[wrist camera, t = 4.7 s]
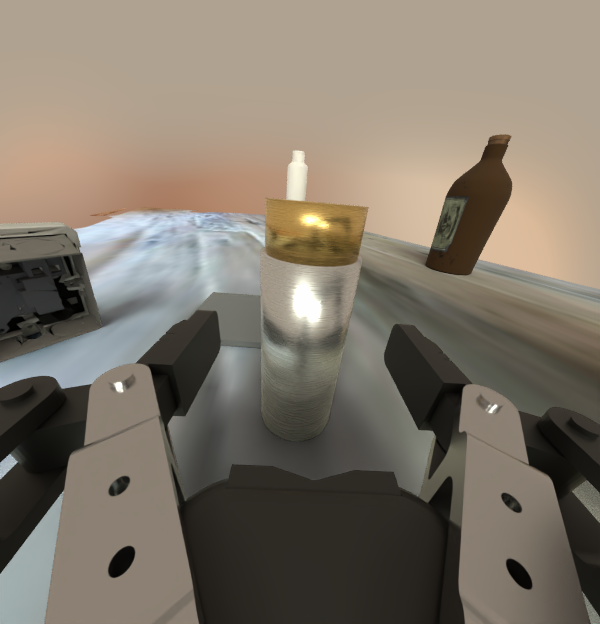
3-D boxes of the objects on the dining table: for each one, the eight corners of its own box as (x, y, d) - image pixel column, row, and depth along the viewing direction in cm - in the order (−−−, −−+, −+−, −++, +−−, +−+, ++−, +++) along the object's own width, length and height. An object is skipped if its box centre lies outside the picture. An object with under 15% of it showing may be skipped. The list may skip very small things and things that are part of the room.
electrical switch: (96, 312, 23) (61, 217, 18) (122, 333, 21) (90, 232, 16) (-68, 360, 15) (-201, 221, 11) (-53, 400, 13) (-208, 251, 9)
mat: (290, 302, 28) (291, 298, 28) (286, 349, 19) (286, 344, 19) (213, 296, 28) (213, 292, 28) (172, 342, 19) (171, 336, 19)
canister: (325, 384, 16) (358, 205, 11) (333, 443, 12) (391, 209, 7) (266, 380, 16) (268, 197, 10) (255, 439, 12) (248, 197, 7)
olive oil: (455, 264, 56) (505, 145, 45) (485, 278, 47) (558, 131, 35) (414, 261, 56) (454, 140, 44) (437, 274, 47) (494, 125, 35)
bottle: (292, 226, 102) (296, 154, 89) (306, 229, 98) (313, 153, 85) (281, 227, 96) (284, 149, 83) (296, 230, 92) (301, 149, 79)
